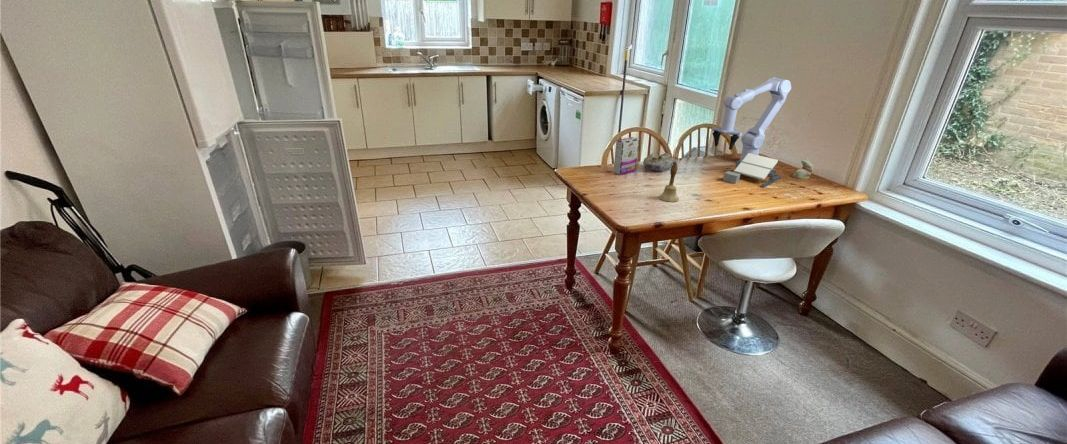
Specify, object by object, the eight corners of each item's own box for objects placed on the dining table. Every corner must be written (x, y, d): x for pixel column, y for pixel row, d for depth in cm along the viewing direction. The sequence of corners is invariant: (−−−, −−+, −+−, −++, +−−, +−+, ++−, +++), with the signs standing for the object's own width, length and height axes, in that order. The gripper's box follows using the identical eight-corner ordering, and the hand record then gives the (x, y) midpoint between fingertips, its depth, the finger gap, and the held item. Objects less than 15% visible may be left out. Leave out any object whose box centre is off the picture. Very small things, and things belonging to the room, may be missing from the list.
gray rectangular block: (737, 176, 210) (724, 172, 214) (735, 184, 212) (722, 180, 216) (740, 174, 213) (728, 171, 217) (738, 182, 215) (726, 178, 218)
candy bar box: (628, 168, 228) (632, 136, 221) (635, 171, 224) (640, 138, 217) (612, 172, 222) (615, 139, 215) (619, 175, 218) (623, 142, 211)
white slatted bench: (743, 169, 232) (746, 156, 229) (780, 178, 220) (784, 165, 218) (725, 177, 220) (728, 164, 217) (763, 187, 208) (767, 174, 205)
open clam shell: (809, 180, 219) (815, 160, 214) (791, 177, 223) (797, 157, 218) (810, 177, 223) (816, 157, 219) (793, 174, 227) (798, 154, 222)
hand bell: (663, 193, 199) (669, 158, 192) (682, 198, 194) (688, 162, 187) (655, 198, 193) (660, 162, 186) (674, 204, 188) (680, 167, 181)
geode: (638, 179, 229) (667, 181, 220) (634, 164, 224) (664, 165, 215) (651, 160, 239) (679, 161, 230) (647, 144, 234) (676, 145, 225)
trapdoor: (748, 154, 225) (748, 152, 224) (777, 161, 216) (778, 159, 215) (734, 172, 220) (734, 170, 219) (763, 180, 211) (763, 178, 210)
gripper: (711, 119, 229) (706, 145, 235) (739, 124, 220) (733, 152, 225) (717, 117, 234) (712, 143, 239) (745, 122, 224) (739, 149, 230)
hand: (723, 147), depth 233 cm, fingers open, 7 cm apart
